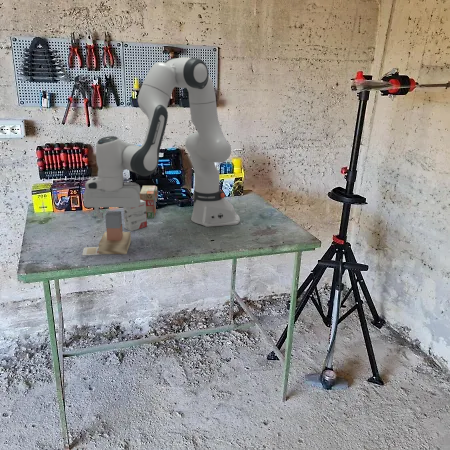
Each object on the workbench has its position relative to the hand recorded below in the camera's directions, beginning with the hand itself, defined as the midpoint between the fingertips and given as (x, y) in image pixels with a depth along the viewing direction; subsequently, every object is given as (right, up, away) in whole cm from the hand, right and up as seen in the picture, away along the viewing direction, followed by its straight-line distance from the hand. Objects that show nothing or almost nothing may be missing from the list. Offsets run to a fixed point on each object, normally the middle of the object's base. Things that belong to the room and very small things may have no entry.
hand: (113, 217), depth 156 cm
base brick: (0, -11, +4) cm, 12 cm away
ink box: (+3, -4, +24) cm, 25 cm away
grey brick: (0, -3, +1) cm, 3 cm away
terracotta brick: (0, -8, +3) cm, 8 cm away
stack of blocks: (+5, +4, +45) cm, 46 cm away
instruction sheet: (-7, -13, +1) cm, 14 cm away
